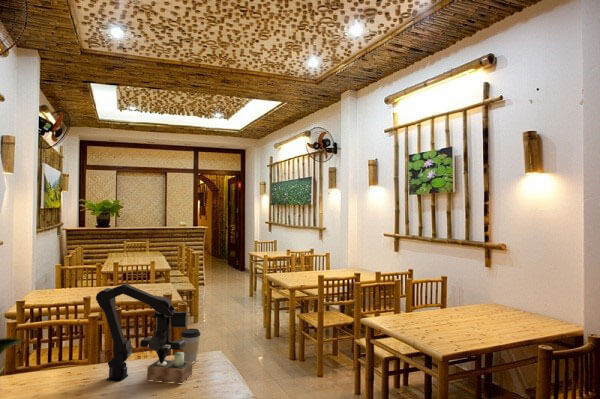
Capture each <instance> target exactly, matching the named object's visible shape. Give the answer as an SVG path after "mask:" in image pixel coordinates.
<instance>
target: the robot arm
mask: <svg viewBox="0 0 600 399" xmlns="http://www.w3.org/2000/svg"><path fill="white" fill-rule="evenodd" d="M122 295H124V296H127V297H129V298H132V299H133V300H136V301H139V302H141V303H143V304H146V305H148V306H150V308H151V309H152V310H154V311H155V312H154V314H153V315H151V318H152V319H156V322H155V326H156V327H155V330H154V332H153V336H152V337H151V336H146V337H145V338H143V339H141V340H140V342H139V347H140V348H147V347H148V348H149V350H152V351H154V352H155V353H156V355H157V357H158V359H159V360H160V363H163V362H164V360H165V359H166V357H167V356H168V353H169V351H170V350H172V351H180V350H183V347H184V346H185V342H184V340H182V339H174V340H173V341H171V340H172V338H171V337H170V335H171V334H170V333H171V331H172V328H171V327H173V328H187V327H188V324H189V317H188V311H186V310H185V311H177V310H176V309H175V307H174V306H173V304H172V300H171V299H170V298H168V297H166V296H161V295H155V294H154V295H153V294H151V293H149V292H147V291H144V290H142V289H139V288H137V287H135V286H132V285H130V284H129V283H123V284H121V285H118V286H115V287H113V288H110V287H106V288H104V289H102V290H100V291H99V292H97V294H96V295H95V300H96V303H97V304H98V307H99V308H100V309H102V311H103V313H104V316H105V320H106V322H107V327H108V328H109V333H110V335H111V338H112V342H113V347H112V354H113V357H112V358H111V359H110V360H109V361H108V362H107V365H108V377H107V378H106V381H110V382H111V381H112V382H121V381H123V380H124V379H125V377H126V378H127V377H128V376H129V373H128V366H127V365H128V364H127V362H126V361H128V358H130V356H131V355H132V353H133V348H134V347H133V345H132V342H131V339H128V340H127V339H126V338H125V336H124V332H123V329H122V325H121V322H120V318H119V315H118V313H117V309H116V301H117V300H116V298H117V297H119V296H122Z"/></svg>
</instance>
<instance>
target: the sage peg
mask: <svg viewBox="0 0 600 399" xmlns="http://www.w3.org/2000/svg"><path fill="white" fill-rule="evenodd" d="M173 360H174V367H183V366H184V353H183V351H178V352H174V359H173Z"/></svg>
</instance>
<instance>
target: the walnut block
mask: <svg viewBox="0 0 600 399" xmlns="http://www.w3.org/2000/svg"><path fill="white" fill-rule="evenodd" d="M164 361H165V362H167V364H166V365H165V366H163V365H157V363H158V362H160V360H159V358H158V359H157V360H156V361H154V362H153V363H151V364H150V365H148V366H147V372H146V373H147V374H146V376H147V377H146V381H147V380H153V381H162V382H174V383H183V382H184V381H185V380H186V379H187V378H188V377H189V376H190V375H191V374H192V375H193V364H192V362H188V361H184V366H183V367H174V359H166V358H165V360H164ZM186 381H187V380H186ZM186 381H185V382H186ZM185 382H184V383H185ZM184 383H183V384H184Z"/></svg>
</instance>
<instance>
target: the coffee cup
mask: <svg viewBox="0 0 600 399" xmlns="http://www.w3.org/2000/svg"><path fill="white" fill-rule="evenodd" d="M201 335H202V334H201V332H200V329H198V328H186V329H183V330H182V332H181V333H180V337H181V338H182V339H181V340H184V342H185V346H184V347H183V348H182V352H183V353H184V361H188V362H193V361H196V362H197V358H198V351H199V345H200V337H201Z"/></svg>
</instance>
